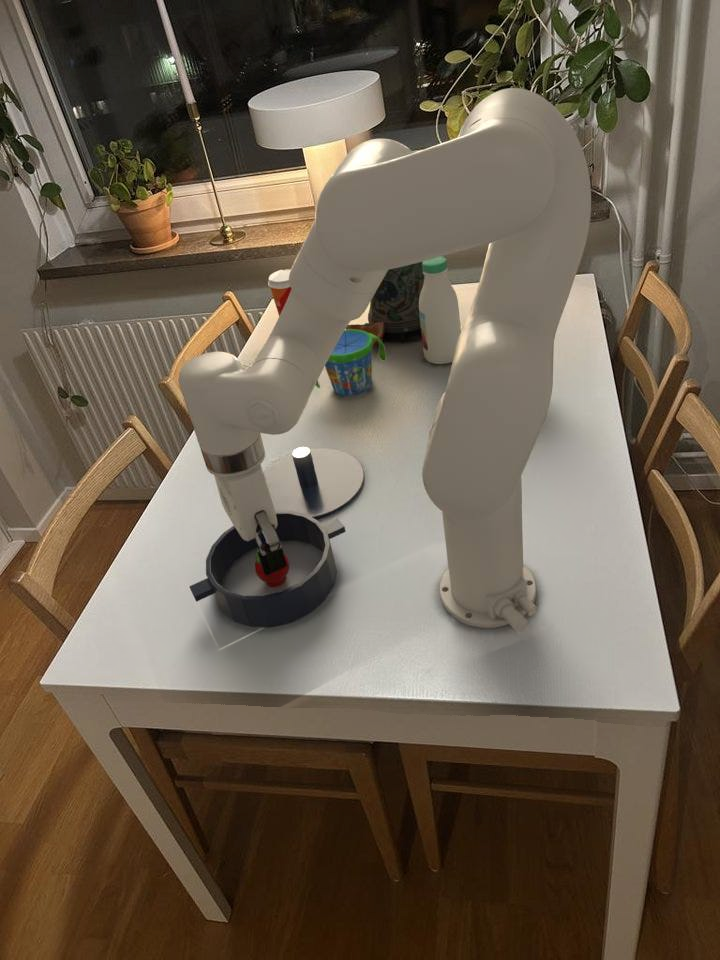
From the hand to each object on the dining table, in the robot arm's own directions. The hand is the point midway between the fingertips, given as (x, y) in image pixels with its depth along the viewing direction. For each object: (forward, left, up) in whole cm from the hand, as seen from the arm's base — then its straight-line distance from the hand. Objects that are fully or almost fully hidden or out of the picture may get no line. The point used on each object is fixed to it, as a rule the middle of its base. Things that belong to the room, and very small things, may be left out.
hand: (262, 548), depth 102 cm
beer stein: (+56, -53, -7) cm, 77 cm away
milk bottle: (+38, -53, -6) cm, 66 cm away
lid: (+17, -13, -6) cm, 22 cm away
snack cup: (+40, -33, -7) cm, 52 cm away
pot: (0, 0, -7) cm, 7 cm away
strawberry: (0, 0, -6) cm, 6 cm away
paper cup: (+70, -34, -7) cm, 78 cm away
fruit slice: (+53, -44, -4) cm, 69 cm away
